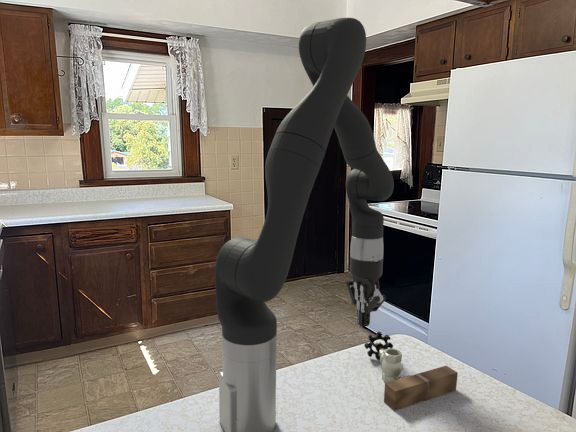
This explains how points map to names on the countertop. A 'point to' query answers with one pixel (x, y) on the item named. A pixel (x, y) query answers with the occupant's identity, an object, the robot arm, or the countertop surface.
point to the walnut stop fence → (420, 387)
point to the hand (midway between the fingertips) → (363, 325)
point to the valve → (386, 357)
